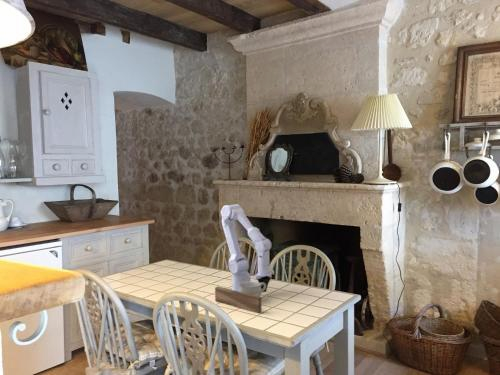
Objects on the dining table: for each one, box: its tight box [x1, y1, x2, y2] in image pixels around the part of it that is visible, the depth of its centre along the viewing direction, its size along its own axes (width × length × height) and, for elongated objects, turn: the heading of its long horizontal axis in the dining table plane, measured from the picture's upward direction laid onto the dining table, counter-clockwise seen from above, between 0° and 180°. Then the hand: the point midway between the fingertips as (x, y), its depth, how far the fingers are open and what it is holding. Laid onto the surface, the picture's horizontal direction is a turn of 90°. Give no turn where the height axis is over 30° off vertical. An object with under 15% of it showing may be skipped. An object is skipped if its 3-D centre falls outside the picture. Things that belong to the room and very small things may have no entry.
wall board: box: [214, 286, 262, 314], centre depth 178 cm, size 2×26×7 cm, turn 51°
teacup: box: [238, 281, 266, 297], centre depth 187 cm, size 14×11×8 cm
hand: (263, 291), depth 193 cm, fingers closed
